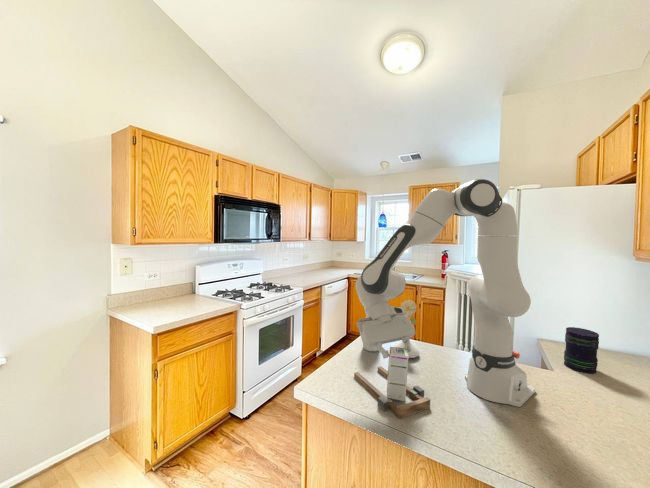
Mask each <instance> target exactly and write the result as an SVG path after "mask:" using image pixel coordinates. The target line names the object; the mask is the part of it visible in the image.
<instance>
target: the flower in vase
mask: <svg viewBox="0 0 650 488" xmlns="http://www.w3.org/2000/svg"><path fill="white" fill-rule="evenodd" d="M399 308H403V309H404V311H405V313H404V315H406V316H407V317H408V318H409V320H410V321H411V323H412V325H413V326H414V325H415V326H416V325H418V323H417V321H416V318H414V317H413V315H415V314H416V312H417V304H416V303H415V301H413V300H412V299H410V300H409V299H408V300H404V301H403V302H401V304H400V305H399ZM409 346H410V348H411V352H408V357H409V358H408V359H412V358H413V359H414V358H417V357H418V356H420V350H419V349H418V347H417V346H416V345H414V344H413V342H411V341H410V345H409ZM392 347H398V348H404V347H405V343H403V341H402V340H400V341H398V342H397V343H396V344H395V345H393V346H392Z"/></svg>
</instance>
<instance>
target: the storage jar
mask: <svg viewBox="0 0 650 488" xmlns="http://www.w3.org/2000/svg"><path fill="white" fill-rule="evenodd" d="M564 335H565V336H564V342H565V350H564V352H563V354H564V355H563V365H564V366H565V367H566V368H568V369H570V370H572V371H575V372H578V373H581V374H586V375H587V374H588V375H595V374H596V373H597V369H598V368H597V367H598V361H599V360H598V350H599V347H600V346H599V344H600V338H599V337H600V334H599V333H598V332H595V331H593V330H590V329H586V328H582V327H575V326H573V327H572V326H571V327H570V326H569V327H567V326H566V328H565V334H564Z"/></svg>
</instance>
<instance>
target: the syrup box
mask: <svg viewBox="0 0 650 488" xmlns="http://www.w3.org/2000/svg"><path fill="white" fill-rule="evenodd" d="M388 352H389V354H390V356H389V357H388V365H387V371H388V378H386V379H387V380H386V397H387V398H389V399H390V400H396V401H402V402H406V397H407V393H406V386H408V370H409V369H408V368H409V359H410V358H409V357H408V353H407V349H404V348H398V347H393V346H389V351H388Z"/></svg>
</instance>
